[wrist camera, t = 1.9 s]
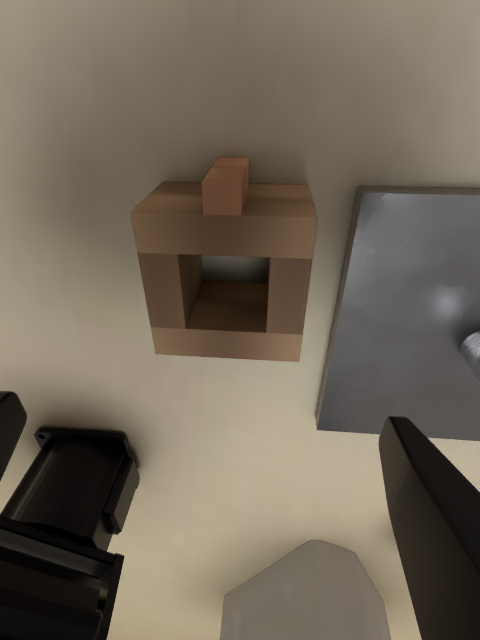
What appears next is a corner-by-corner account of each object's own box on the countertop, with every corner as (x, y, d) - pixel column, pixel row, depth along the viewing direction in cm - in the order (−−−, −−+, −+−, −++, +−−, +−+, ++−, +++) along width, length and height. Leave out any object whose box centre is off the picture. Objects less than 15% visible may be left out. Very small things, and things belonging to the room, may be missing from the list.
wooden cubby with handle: (177, 303, 18) (155, 353, 15) (159, 155, 14) (124, 180, 11) (294, 308, 18) (298, 361, 14) (310, 158, 14) (321, 184, 10)
